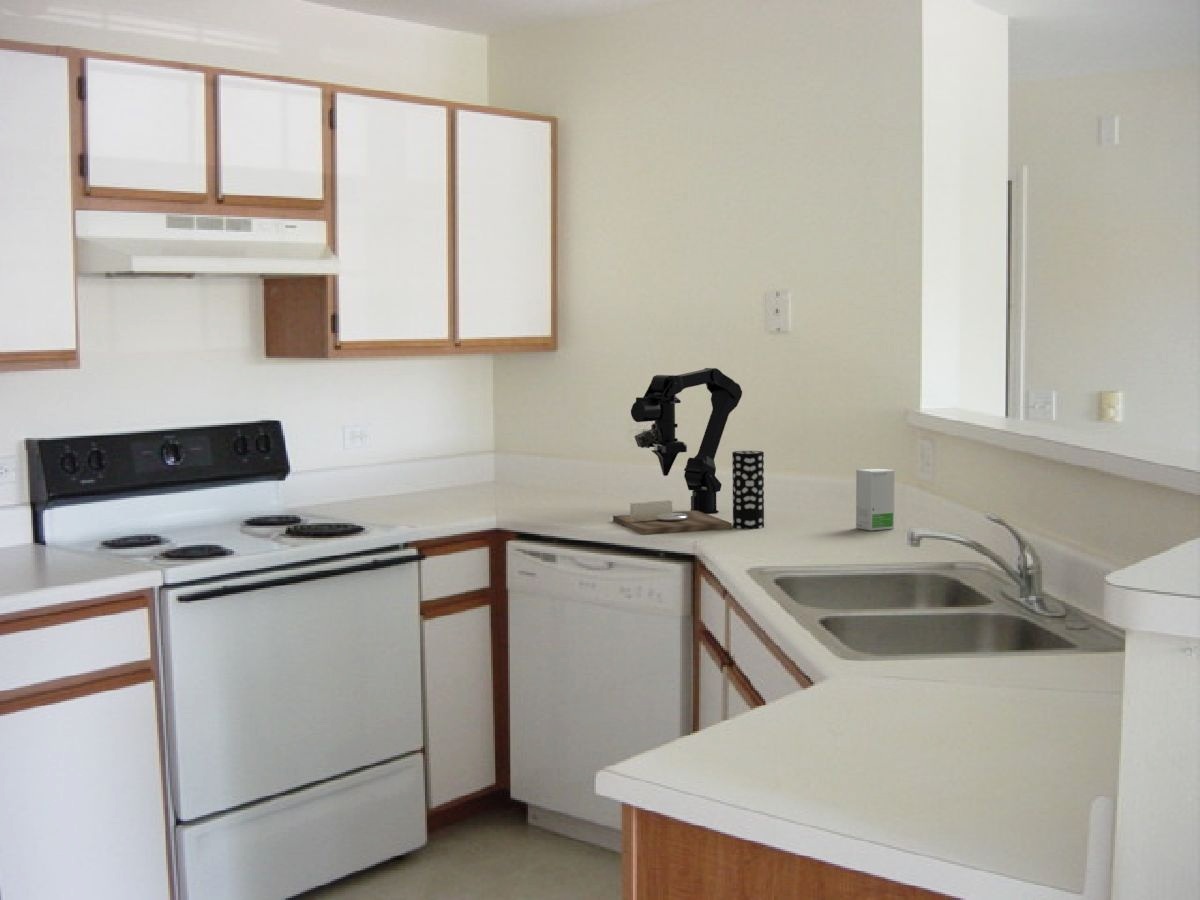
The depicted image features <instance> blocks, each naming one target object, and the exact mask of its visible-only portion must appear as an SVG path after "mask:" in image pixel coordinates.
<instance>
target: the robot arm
mask: <svg viewBox="0 0 1200 900" xmlns="http://www.w3.org/2000/svg"><path fill="white" fill-rule="evenodd" d="M701 385H705V386H706V390H707V391H709V393H711V395H710V396H711V397H710V402H711V407H712V410H711V414H710V416H709V419H708V422H707V425H706V428H705V431H704V434H703V437H702V440H701V443H700V446H699V448H698V449H699V450H698V452H697V454H696V456H694V457H688V459H687V462H686V465H685V468H684V469H683V471H684V474H683V475H684V477H683V478H684V480H685V483H686V486H687V490H688V491H691V492H692V495H691V496H690V510H689V511H700V512H702V513H705V514H714V513H719V512H720V511H719V509H718V510H717V493H718V492H721V489H722V486H723V485H722V483H721V482H720V480H719V479H718V478H717V476H716V472H717V471H716V470H717V469H716V468H717V466H716V462H715V457H716V454H717V451H718V449H719V445H720V442H721V440H722V436H723V432H724V430H725V428H726V424H727V421H728V418H729V415H730V413H732V411H733V410H735V409H736V408H737V407H738V405H739V402H740V400H741V398H742V396H743V390H742V387H741V386H740V384H739V383H737V382H735V381H734V379H733V378H730V377H729V376H727V375H726V374H724V373H723V372H722V371H721V370H720V369H718V368H717V367H716V368H715V367H705V368H703V369H699V370H696V371H695V370H693V371H690V372H686V373H681V374H678V375H675V374H674V375H673V374H672V375H671V374H669V375H668V374H656V375H653V376H652V379H651V381H650V384H649V386H648V387H647V389H646V391H645V393H644V395H643V396H642V397H641V396H639V397H637V396H636V398H635V402H634V403H633V404H632V406H631V409H630V416H631V418H632V419H633V421H635V422H636V423H643V422H644V423H646V422H654V423H652V424H651V429H649V430H645V431H643V432H640V433H638V434H636V435H634V436H633V437H634V439H635V442H636V446H637V447H638V448H640V449H644V448H646V449H650V448H653V449H652V450H651V453H653V454H654V455H656V456H657V458H658V461H659V465H660V469H661V472H662V475H663V476H664V477H667V476H669V473H670V472H671V469H672V467H673V465H674V462H675V461H676V459H677V456H678V454H680V453H687V452H688V449H687V448H688V445H687V444H686V443H685V442H684V441H680V440H678V439H679V438H677V437H676V428H678V423H676V404H681V402H682V401H681V399H679V398H678V396H677V394H680V393H682V391H683V390H685V389H687V388H691V387H698V386H701Z"/></svg>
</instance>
